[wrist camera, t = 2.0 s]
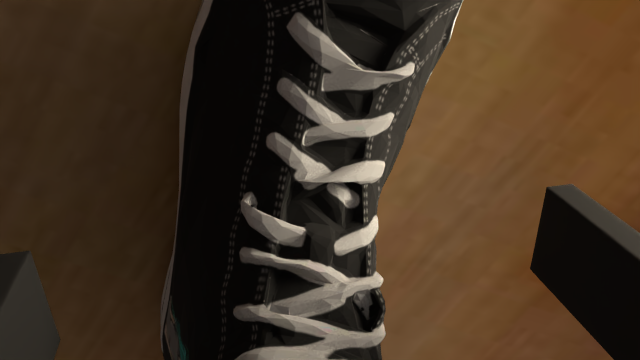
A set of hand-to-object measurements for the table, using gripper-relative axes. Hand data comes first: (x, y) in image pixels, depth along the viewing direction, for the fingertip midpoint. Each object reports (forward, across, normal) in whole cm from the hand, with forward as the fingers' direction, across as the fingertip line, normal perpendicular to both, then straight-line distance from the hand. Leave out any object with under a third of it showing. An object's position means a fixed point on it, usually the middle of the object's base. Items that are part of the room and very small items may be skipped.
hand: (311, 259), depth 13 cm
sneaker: (+8, 0, 0) cm, 8 cm away
